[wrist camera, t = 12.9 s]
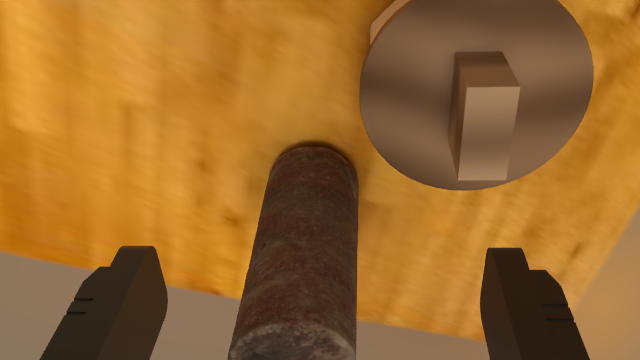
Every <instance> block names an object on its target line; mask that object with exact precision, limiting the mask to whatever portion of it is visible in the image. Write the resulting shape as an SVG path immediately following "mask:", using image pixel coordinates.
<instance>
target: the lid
mask: <svg viewBox="0 0 640 360" xmlns="http://www.w3.org/2000/svg"><path fill="white" fill-rule="evenodd" d="M592 87H593V61H592V55H591V51H590V48H589V45H588V41H587V39H586V37H585V35H584V33H583V31H582V29H581V27H580V26H579V25H578V23H577V22H576V20H575V19H574V18H573V16H572V15H571V14H570V13H569V12H568V11H567V10H566V9H565V8H564V7H563V6H562V5H561V4H560V3H559V2H558V1H557V0H409V1H408V2H406V3H405V4H404V5H403V6H402V7H400V8H399V9H398V10H397V11H396V12H395V13H394V14H393V15H392V16H391V17H390V18H389V19H388V20H387V21H386V22H385V24H384V25H383V26H382V27H381V29H380V30H379V32H378V33H377V35H376V36H375V38H374V40H373V42H372V44H371V45H370V47H369V49H368V52H367V54H366V57H365V60H364V63H363V67H362V72H361V77H360V111H361V116H362V120H363V124H364V127H365V129H366V132H367V134H368V137H369V138H370V140H371V142H372V144H373V145H374V147H375V148H376V150H377V151H378V152H379V154H380V155H381V156H382V157H383V158H384V159H385V160H386V161H387V162H388V163H389V164H390V165H391V166H392V167H394V168H395V169H396V170H398V171H399V172H400V173H402V174H404V175H406V176H407V177H409V178H411V179H413V180H415V181H418V182H420V183H423V184H425V185H429V186H433V187H436V188H442V189H448V190H479V189H485V188H491V187H495V186H499V185H502V184H506V183H508V182H511V181H514V180H516V179H519V178H521V177H523V176H525V175H527V174H529V173H531V172H532V171H534V170H535V169H537V168H539V167H540V166H542V165H543V164H544V163H546V162H547V161H548V160H549V159H551V158H552V157H553V156H554V155H555V154H556V153H557V152H558V151H559V150H560V149H561V148H562V147H563V146H564V145H565V144H566V143H567V142H568V140H569V139H570V138H571V137H572V135H573V134H574V133H575V131H576V129H577V128H578V126H579V124H580V123H581V121H582V119H583V117H584V114H585V112H586V110H587V107H588V104H589V101H590V97H591V93H592Z"/></svg>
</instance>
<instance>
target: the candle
mask: <svg viewBox="0 0 640 360" xmlns="http://www.w3.org/2000/svg"><path fill="white" fill-rule="evenodd" d="M358 188H359V187H358V178H357V175H356V172H355V170H354V168H353V167H352V166H351V165H350V164H349V163H348V162H347V161H346V159H344V158H343V157H342V156H341V155H339V154H338V153H336V152H334V151H332V150H330V149H328V148H323V147H300V148H295V149H293V150H291V151H289V152H287V153H285V154H283V155H281V156H280V157H279V158H278V159H277V160H276V162H275V163H274V164H273V166H272V168H271V171H270V174H269V179H268V183H267V187H266V191H265V195H264V200H263V204H262V209H261V214H260V218H259V222H258V228H257V232H256V236H255V241H254V245H253V250H252V256H251V260H250V264H249V269H248V272H247V276H246V280H245V286H244V291H243V294H242V299H241V303H240V307H239V312H238V315H237V321H236V325H235V329H234V333H233V337H232V342H231V345H230V349H229V353H228V360H356V310H357V242H358Z"/></svg>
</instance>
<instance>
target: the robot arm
mask: <svg viewBox="0 0 640 360" xmlns="http://www.w3.org/2000/svg"><path fill="white" fill-rule="evenodd" d="M167 303H168V297H167V290H166V286H165V282H164V278H163V274H162V270H161V267H160V263H159V259H158V255H157V252H156V249H155V248H154V247H153V246H122V247H121V248H120V249H119V250H118V252H117V254H116V256H115V258H114V260H113V261H112V263H111V265H110V267H99V268H98V269H97V270H96V271H95V272H93V273H92V274H91V275H90V276H89V277H88V278H87V279H86V280H84V281H83V283H82V285H81V287H80V288H79V290H78V292H77V294H76V296H75V298H74V302H72V303H71V305H70V306H69V308H68V310H67V314H66V315H65V316H64V317H63V319H62V321H61V322H60V324H59V326H58V328H57V330H56V331H55V333H54V335H53V337H52V338H51V340H50V342H49V344H48V346H47V347H46V349H45V351H44V353H43V355H42V357H41V358H40V360H149V359H150V356H151V353H152V351H153V348H154V346H155V343H156V340H157V338H158V335H159V332H160V329H161V327H162V324H163V321H164V319H165V315H166V312H167ZM480 310H481V319H482V324H483V329H484V334H485V338H486V343H487V347H488V352H489V356H490V360H590V359H589V356H588V354H587V351H586V349H585V346H584V343H583V341H582V338H581V336H580V333H579V331H578V328H577V326H576V323H574V318H573V315H572V313H571V310H570V308H568V303H567V300H566V298H565V295H564V292H563V290H562V287H561V286H560V284H559V283H558V282H557V281H556V280H555V279H554V278H553V277H552V276H551V275H550V274H549V273H548V272H547V271H546V270H529V267H528V264H527V261H526V258H525V255H524V252H523V250H522V249H521V248H488V250H487V253H486V260H485V267H484V274H483V281H482V288H481V296H480Z"/></svg>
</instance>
